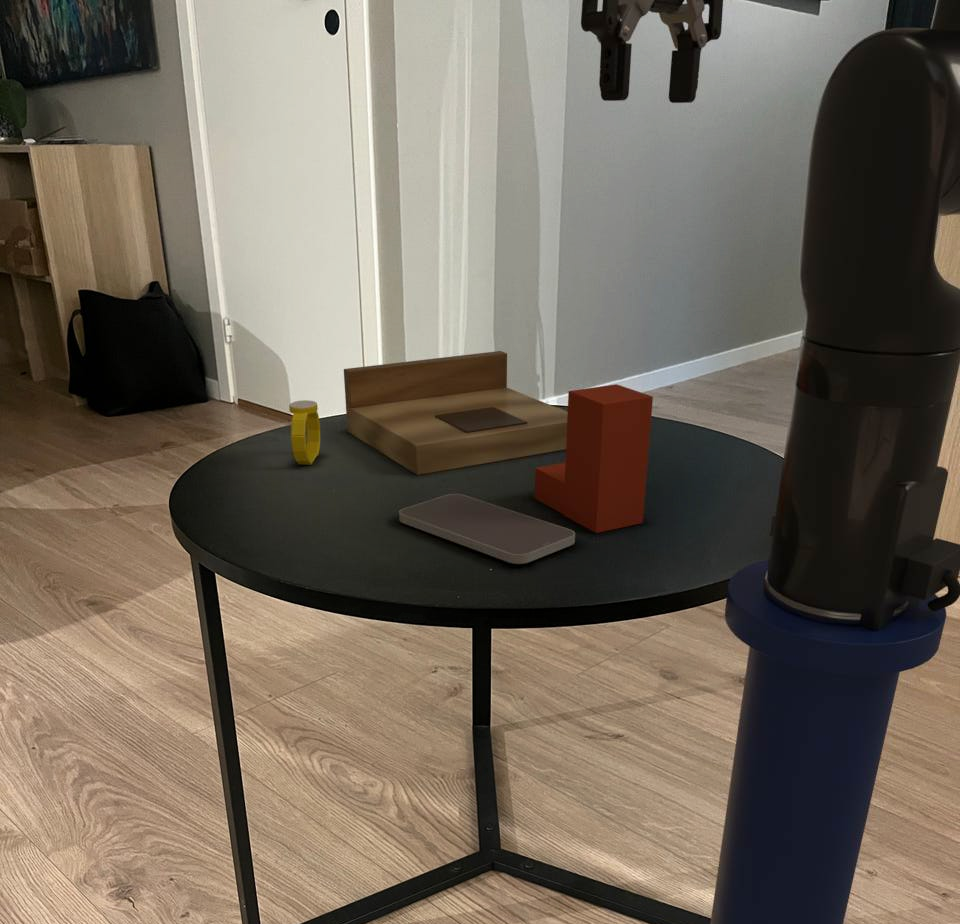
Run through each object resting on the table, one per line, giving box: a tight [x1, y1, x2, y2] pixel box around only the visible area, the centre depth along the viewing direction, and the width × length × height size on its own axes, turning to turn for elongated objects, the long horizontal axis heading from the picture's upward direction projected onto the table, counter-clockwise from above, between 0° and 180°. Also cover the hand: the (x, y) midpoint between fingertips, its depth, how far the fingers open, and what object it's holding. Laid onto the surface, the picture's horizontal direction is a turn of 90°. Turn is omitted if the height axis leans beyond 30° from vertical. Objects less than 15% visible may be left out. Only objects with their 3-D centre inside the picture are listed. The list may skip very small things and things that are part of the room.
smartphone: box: [398, 493, 576, 565], centre depth 83 cm, size 7×1×15 cm
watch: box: [288, 400, 321, 466], centre depth 100 cm, size 6×3×6 cm, turn 174°
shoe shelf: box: [343, 350, 568, 476], centre depth 107 cm, size 18×20×7 cm
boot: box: [534, 383, 654, 534], centre depth 86 cm, size 10×5×11 cm, turn 29°
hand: (649, 101), depth 78 cm, fingers open, 8 cm apart
